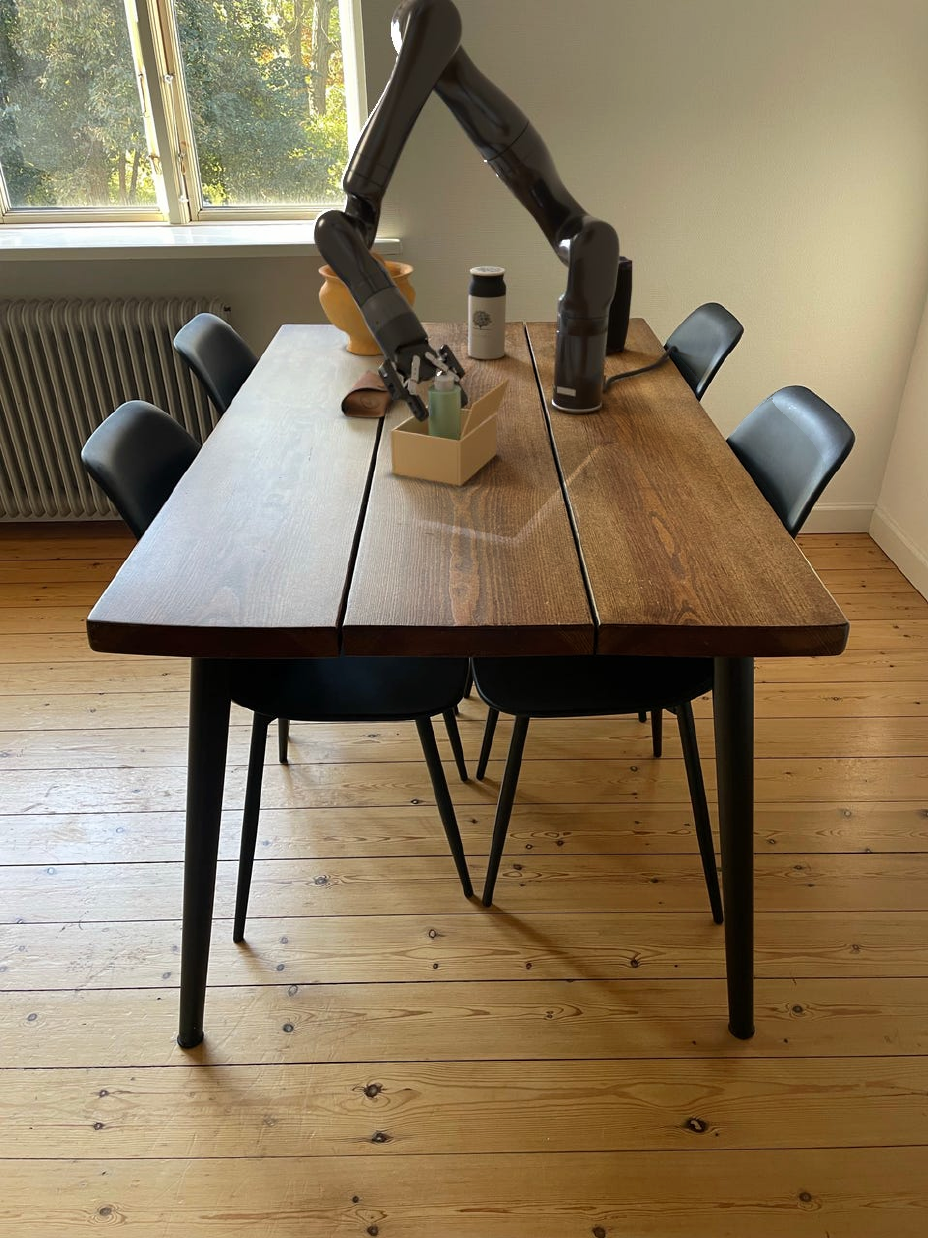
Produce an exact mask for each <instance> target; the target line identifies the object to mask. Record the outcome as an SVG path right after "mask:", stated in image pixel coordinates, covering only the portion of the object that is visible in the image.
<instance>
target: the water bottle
mask: <svg viewBox="0 0 928 1238" xmlns="http://www.w3.org/2000/svg"><path fill="white" fill-rule="evenodd" d="M427 406H428V412H429V417H428V429H429V436H433V437H439V438H445V439H451V440H457V441H460V440H461V438H460V437H461V387H460V386H458V385H455V384H454V377H452V376H447V375H442V376H437V377H435V383H434V384H431V385H429V386H428V387H427Z"/></svg>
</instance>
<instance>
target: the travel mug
mask: <svg viewBox="0 0 928 1238" xmlns="http://www.w3.org/2000/svg"><path fill="white" fill-rule="evenodd" d="M469 273H470V275H471V279H470V282H469V284H468V337H467V338H468V341H467V342H468V344H467V345H468V346H467V347H468V349H467V350H468V356H470V357H471V358H473V359H477V360H484V361H485V360H487V361H489V360H490V361H491V360H496V359H500V358H502V357H504V356H505V353H506V352H505V351H506V348H505V347H506V344H505V343H506V312H507V311H506V310H507V285H506V282H505V280H504V278H505V273H506V269H504V268H502V267H498V266H475V267H472V268H471V269H470V270H469Z"/></svg>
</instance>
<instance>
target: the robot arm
mask: <svg viewBox="0 0 928 1238" xmlns="http://www.w3.org/2000/svg"><path fill="white" fill-rule="evenodd" d="M390 24H391V37H392V41H393V45H394V47H395V50H396V51H397V57H396V60H395V63H394V67H393V69H392V73H391V75H390V78H389V80H388V82H387V85H386V86H385V89H384V92H383V93H382V95H381V97H380V98H379V100H378V103H377V104H376V106H375V108H374V109H373V111H372V112H371V114H370V115H369V118H368V119H367V121H366V122H365V125H364V126H363V128H362V130H361V132H360V134H359V136H358V138H357V140H356V142H355V145H354V147H353V148H352V149H353V150H352V152H351V154H350V157H349V159H348V163H347V165H346V168H345V169H344V171H343V175H342V178H341V184H340V185H341V188H342V189H341V190H343V192H344V193H345V196H346V200H345V205H344V209H343V210H341V209H333V208H331V209H326V210H324V211H322V212H320V213H319V214H318V215H317V217H316V219H314V223H313V226H312V236H313V237H312V238H313V242H314V244H315V247H316V249H317V251H318V253H319V254H320V256H321V257H322V259H323V260H324V261H325V263H326V264H327V265H329V266H330V268H331V269H332V270H333V271H334V273H335V274H336V275H337V276H338V277H339V279H340V280H341V281H342V282H343V283H344V284H345V285H346V287H347V288H348V290H349V292H350V294H351V296H352V298H353V299H354V301H355V303H356V304H357V306H358V308H359V309H360V311H361V313H362V315H363V317H364V320H365V322H366V324H367V326H368V328H369V330H370V332H371V333H372V335H373V337H374V339H375V340H376V342H377V344H378V345H379V347H380V349H381V351H382V352H383V353H382V354H383V356H384V358H385V360H384V361H383V362H382V363H381V365H380V366H379V367H378V368H377V375H379V376H380V377H381V379H382V381H383V383H384V385H385V387H386V389H387V391H388V393H389V395H390V397H391V399H392V400H393V401H392V402H395V403H397V402H399V401H401V402H403V403H406V404H407V406H408V408H409V410H410V411H411V413H412V414H413V415H414V416H415V418H416V419H418V420H419V421H420V422H422V421H425V420H426V419H427V418H428V417H429V412H428V410H427V408H426V405H425V403H424V401H423V400H422V398H421V396H420V395H419V394H417V385H420V384H422V383H427V382H430V381H431V382H433V383H434V384H435V377H437V376H442V375H447V376H452V377H454V384H455V385H458V386H460V387H461V409H462V408H463V409H465V407H466V406H467V405H469V397H468V395H467V393H466V392H465V390H464V388H463V386H462V385H461V382H460V381H461V380H462V379H463V378H464V377H465V376H466V370H465V369H464V367H463V366H462V365H461V363H460V362H459V360H458V359H457V357H456V356H455V354H454V352H453V351H452V349H451V347H450V346H449V345H448V344H445V343H444V344H442V346H441V347H440V348H438V349H434V348H433V347H432V346H431V345H430V343H429V335H428V333H427V331H426V330H425V328H424V326H423V325H422V323H421V321H420V319H419V318H418V316H417V314H416V312H415V311H414V309H413V307H412V308H411V306H410V304H409V302H408V301H407V299H406V298H405V297H404V295H403V294H402V293H401V292H400V290H399V289H398V287H397V285H396V283H395V282H394V280H393V278H392V277H391V275H390V273H389V272H388V270H387V269H386V267H385V266H384V265H383V264H382V263H381V262H380V261H379V260H378V259H376V258H375V257H374V256H373V255H372V254H371V253H370V250H372V248H373V246H374V244H375V241H376V238H377V233H378V229H379V224H380V219H381V214H382V207H383V201H384V198H385V196H386V194H387V192H388V190H389V187H390V185H391V183H392V180H393V177H394V175H395V173H396V170H397V168H398V166H399V163H400V161H401V158H402V156H403V153H404V151H405V149H406V146H407V144H408V141H409V140H410V137H411V135H412V132H413V130H414V128H415V126H416V124H417V122H418V119H419V118H420V115H421V113H422V111H423V110H424V108H425V106H426V104H427V101H428V100H429V98H430V96H431V94H432V93H433V92H434V93H435V94H436V95H437V97H439V99H440V100H441V101H442V103H443V104H444V105H445V107H446V108H447V109H448V110H449V112H450V113H451V115H452V117H453V118H454V120H455V121H456V122H457V124H458V125H459V127H460V128H461V130H462V131H463V133H464V134H465V136H466V137H467V139H468V140H469V141H470V143H471V144H472V145H473V147H474V148H475V150H476V151H477V152H478V154H479V155H480V156H481V158H482V159H483V161H484V162H485V163H486V165H487V166H488V167H489V168H490V169H491V171H492V172H493V174H494V175H495V176H496V177H497V179H499V181H500V182H501V183H502V184H503V185H504V186H505V188H506V189H507V190H508V191H509V193H510V194H511V195H512V196H513V197H514V198H515V199H516V200H517V201H518V202H519V204H520V205H521V206H522V207H523V208H524V209H525V210H526V211H527V212H528V213H529V215H530V216H531V217H532V218H533V220H534V221H535V223H536V224H537V225H538V227H539V229H540V230H541V232H542V233H543V235H544V236H545V238H546V240H547V241H548V243H549V245H550V247H551V248H552V250H553V252H554V253H555V255H556V257H557V258H558V259H559V261H560V262H561V264H563V265H564V266H565V267H566V268H568V269H567V280H566V289H565V291H564V293H562V294H561V295H560V296H559V297H558V300H557V310H556V311H557V313H556V315H557V316H556V331H555V332H556V333H555V335H556V336H555V348H554V349H555V351H554V352H555V353H554V369H553V385H552V400H551V407H552V408H553V409H555V410H557V411H560V412H563V413H568V414H577V415H579V414H590V413H595V412H598V411H599V410H601V409H602V406H603V402H602V398H603V393H606V392H607V391H608V389H609V386H610V385H611V384H612V383H613V382H615V381H617V380H621V379H626V378H629V377H634V376H637V375H640V374H643V373H646V372H649V371H652V370H654V369H656V368H658V367H660V366H661V365H663V363H664V362H665V361H666V359H667V358H668V357H669V356H670V355H672V353H673V352H674V353H679V348H678V347H677V346H676V345H672V346H670V347H669V348H668V349H667V350H666V352H664V353H663V354H662V356H661V357H660V358H659V360H658V361H656V362H654V363H652V364H650V365H647V366H643V367H641V368H638V369H634V370H630V371H627V372H621V373H618V374H614V375H612V376H610V377H609V378H608V379H607V375H606V374H605V366H606V365H605V364H606V355H605V354H606V342H607V329H608V317H609V307H610V304H611V302H612V300H613V297H614V294H615V288H616V280H617V272H618V264H619V256H620V252H621V251H620V250H621V247H620V246H621V245H620V239H619V234H618V232H617V230H616V229H615V228H614V226H613V225H612V224H611V223H609V222H607V221H606V220H603V219H601V218H597V217H595V216H593V215H591V214H589V212H588V211H587V210H585V208H583V206H582V205H581V204H580V203H579V202H578V201H577V200H576V199H575V197H574V196H573V195H572V194H571V193H570V191H569V190H568V188H567V187H566V185H565V184H564V182H563V181H562V178H561V176H560V174H559V171H558V169H557V166H556V163H555V161H554V158H553V155H552V153H551V151H550V149H549V147H548V145H547V143H546V141H545V139H544V138H543V136H542V135H541V133H540V132H539V130H538V129H537V128H536V127H535V125H534V123H532V122H533V121H532V120H530V118H529V117H528V115H527V114H526V113H525V112H524V110H523V109H522V108H521V106H520V105H518V103H517V102H516V101H514V100H513V99H512V98H511V97H510V96H509V95H508V94H507V93H506V92H505V91H504V90H503V89H502V88H501V87H499V86H498V85H497V84H495V82H493V81H492V80H491V79H490V78H489V77H488V76H486V74H485V73H483V71H482V70H481V69H480V68H479V67H478V66H477V65H476V63H475V62H474V61H473V60H472V58H471V57H470V55H469V54H468V52H467V51H466V49H465V47H464V46H463V44H462V43H461V42H462V38H463V31H464V29H463V28H464V27H463V26H464V25H463V19H462V15H461V12H460V10H459V8H458V7H457V5H456V4H455V2H454V1H453V0H403V1H402V2H400V3H399V4H398V6H397V7H396V8H395V10H394V13H393V15H392V18H391V23H390ZM438 371H439V372H438ZM399 375H400V376H401V379H400V377H399ZM413 415H412V416H413Z"/></svg>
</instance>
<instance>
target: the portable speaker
mask: <svg viewBox="0 0 928 1238" xmlns="http://www.w3.org/2000/svg"><path fill="white" fill-rule="evenodd" d="M633 262H634V261H633V260H632V259H629V258H627V257H626V256H624V255H619V264H618V272H617V280H616V288H615V294H614V297H613V300H612V302H611V304H610V307H609V317H608V329H607V342H606V354H605V356H610V354H611V353H612V352H615V351H619V352H621V353H625V345H626V341H627V337H628V331H629V325H630V316H631V305H632V295H633Z"/></svg>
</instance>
